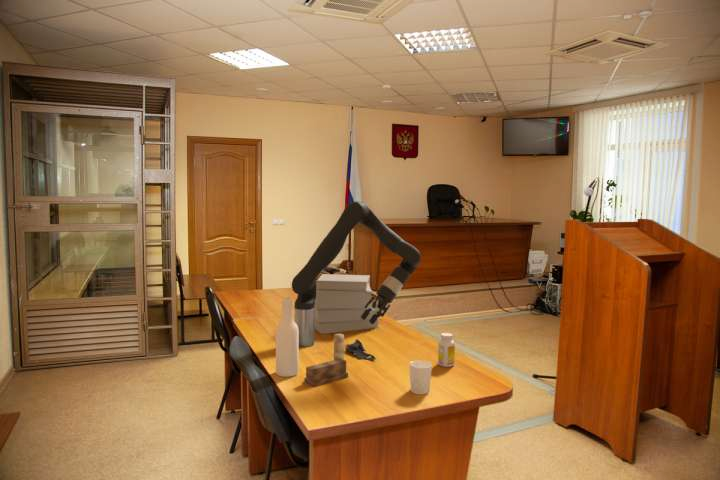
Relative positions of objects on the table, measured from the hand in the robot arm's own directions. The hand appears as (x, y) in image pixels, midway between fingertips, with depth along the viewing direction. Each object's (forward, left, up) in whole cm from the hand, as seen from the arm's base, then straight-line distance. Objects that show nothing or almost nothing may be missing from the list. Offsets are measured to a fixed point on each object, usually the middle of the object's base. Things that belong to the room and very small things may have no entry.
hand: (366, 320), depth 203 cm
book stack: (-54, +27, -19) cm, 63 cm away
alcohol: (-11, -31, -19) cm, 38 cm away
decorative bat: (-16, +7, -19) cm, 26 cm away
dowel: (-3, -12, -19) cm, 22 cm away
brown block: (+3, -22, -19) cm, 29 cm away
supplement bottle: (+19, +27, -19) cm, 38 cm away
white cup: (+32, -1, -19) cm, 37 cm away
